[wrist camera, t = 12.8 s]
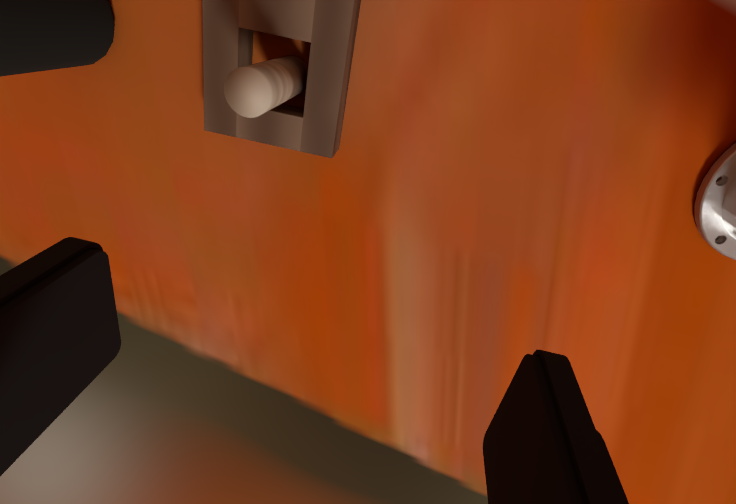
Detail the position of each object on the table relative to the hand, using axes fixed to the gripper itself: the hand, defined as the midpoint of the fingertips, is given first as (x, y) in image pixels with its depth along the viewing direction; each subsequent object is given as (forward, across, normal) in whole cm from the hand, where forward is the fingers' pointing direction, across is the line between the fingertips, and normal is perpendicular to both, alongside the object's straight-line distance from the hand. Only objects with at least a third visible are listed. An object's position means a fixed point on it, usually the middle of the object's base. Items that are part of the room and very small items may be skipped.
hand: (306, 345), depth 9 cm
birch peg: (+30, +10, -1) cm, 31 cm away
